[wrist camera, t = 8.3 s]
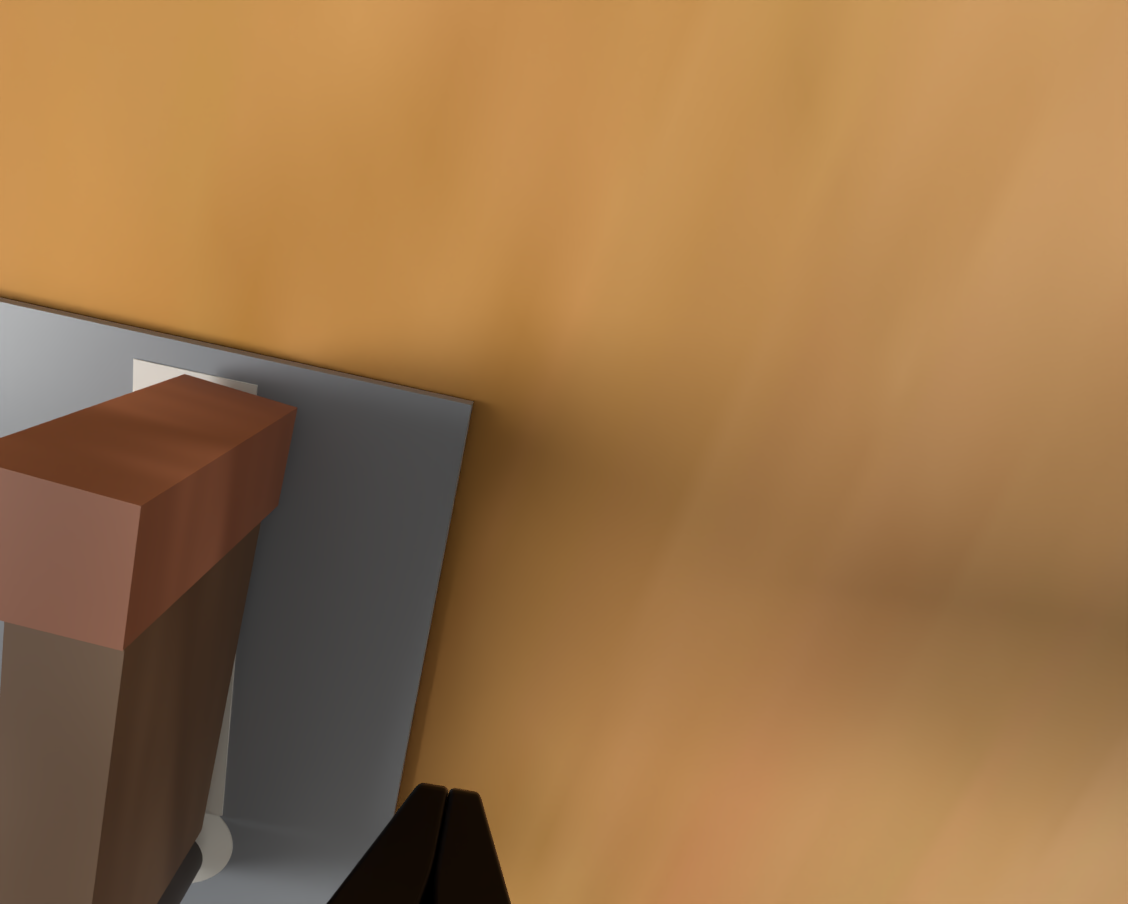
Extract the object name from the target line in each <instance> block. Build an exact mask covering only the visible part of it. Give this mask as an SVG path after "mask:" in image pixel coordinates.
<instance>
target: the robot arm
mask: <svg viewBox="0 0 1128 904" xmlns="http://www.w3.org/2000/svg"><path fill="white" fill-rule="evenodd" d="M327 904H511V902H510V898H509V895H508V891H507V888H506V884H505V881H504V877H503V874H502V870H501V867H500V863H499V860H498V856H497V853H496V849H495V845H494V842H493V838H492V835H491V831H490V828H489V824H488V821H487V817H486V814H485V810H484V807H483V803H482V800H481V797H480V795H479V794H478V793H477V792H474V791H469V790H463V789H457V788H453V789H451V790H450V791H449V793H448V789H447V788H446V787H444V786H439V785H433V784H427V783H421V784H419V785H418V786H416V788H415V789H414V790H413V791H412V793H411V794H410V795H409V797H408V798H407V799H406V800H405V802H404V803H403V804H402V806H401V807H400V808H399V810H398V811H397V812H396V814H395V815H394V816H393V817H392V819H391V820H390V821H389V823H388V824H387V825H386V827H385V828H384V829H383V831H382V832H381V833H380V834H379V836H378V837H377V838H376V840H375V841H374V842H373V844H372V845H371V846H370V847H369V849H368V850H367V851H366V853H365V854H364V855H363V857H362V858H361V859H360V861H359V862H358V863H357V864H356V866H355V867H354V868H353V870H352V871H351V872H350V874H349V875H348V876H347V877H346V879H345V880H344V881H343V883H342V884H341V885H340V887H339V888H338V889H337V891H336V892H335V893H334V894H333V896H332V897H331V898H330V900H329V901H328V902H327Z"/></svg>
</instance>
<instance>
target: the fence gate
mask: <svg viewBox="0 0 1128 904" xmlns="http://www.w3.org/2000/svg"><path fill="white" fill-rule="evenodd" d="M296 413H297V407H294V406H291V405H287V404H284V403H280V402H277V401H274V400H270V399H267V398H264V397H260V396H257V395H254V394H250V393H247V392H244V391H240V390H237V389H234V388H230V387H227V386H224V385H220V384H217V383H213V382H210V381H207V380H203V379H200V378H197V377H193V376H190V375H187V374H183V375H180V376H177V377H174V378H172V379H169V380H166V381H163V382H160V383H157V384H154V385H151V386H148V387H146V388H143V389H140V390H137V391H134V392H131V393H128V394H125V395H123V396H120V397H117V398H114V399H111V400H108V401H105V402H102V403H99V404H97V405H94V406H91V407H88V408H85V409H82V410H79V411H76V412H74V413H71V414H68V415H65V416H62V417H59V418H56V419H53V420H51V421H48V422H45V423H42V424H39V425H36V426H33V427H30V428H27V429H25V430H22V431H19V432H16V433H13V434H10V435H7V436H4V437H2V438H0V621H4V634H3V651H2V668H1V685H0V904H157V903H158V901H159V900H160V898H161V896H162V895H163V893H164V891H165V890H166V888H167V887H168V885H169V883H170V882H171V880H172V878H173V877H174V875H175V873H176V872H177V870H178V868H179V867H180V865H181V863H182V862H183V860H184V858H185V857H186V855H187V854H188V852H189V850H190V849H191V847H192V845H193V844H194V842H195V840H196V839H197V837H198V835H199V834H200V832H201V830H202V826H203V821H204V816H205V811H206V805H207V800H208V795H209V790H210V785H211V779H212V774H213V769H214V764H215V759H216V753H217V748H218V743H219V738H220V733H221V727H222V722H223V717H224V712H225V706H226V701H227V696H228V691H229V686H230V680H231V675H232V670H233V665H234V660H235V654H236V649H237V644H238V639H239V634H240V628H241V623H242V618H243V613H244V608H245V602H246V597H247V592H248V587H249V582H250V576H251V571H252V566H253V561H254V556H255V550H256V545H257V540H258V535H259V530H260V524H261V521H262V520H263V519H264V518H265V517H266V516H267V515H268V514H270V513H271V512H272V511H273V510H274V509H275V508H276V507H277V506H278V503H279V498H280V493H281V488H282V483H283V478H284V473H285V468H286V463H287V458H288V453H289V448H290V443H291V438H292V433H293V428H294V423H295V418H296Z"/></svg>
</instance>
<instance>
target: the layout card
mask: <svg viewBox="0 0 1128 904" xmlns="http://www.w3.org/2000/svg"><path fill="white" fill-rule="evenodd" d="M183 374H187V375H190V376H193V377H197V378H200V379H203V380H207V381H210V382H213V383H217V384H220V385H224V386H227V387H230V388H234V389H237V390H240V391H244V392H247V393H250V394H254V395H257V396H260V397H264V398H267V399H270V400H274V401H277V402H280V403H284V404H287V405H291V406H294V407H297V413H296V418H295V423H294V428H293V433H292V438H291V443H290V448H289V453H288V458H287V463H286V468H285V473H284V478H283V483H282V488H281V493H280V498H279V503H278V506H277V507H276V508H275V509H274V510H273V511H272V512H271V513H270V514H268V515H267V516H266V517H265V518H264V519H263V520H262V521H261V524H260V530H259V535H258V540H257V545H256V550H255V556H254V561H253V566H252V571H251V576H250V582H249V587H248V592H247V597H246V602H245V608H244V613H243V618H242V623H241V628H240V634H239V639H238V644H237V649H236V654H235V660H234V665H233V670H232V675H231V680H230V686H229V691H228V696H227V701H226V706H225V712H224V717H223V722H222V727H221V733H220V738H219V743H218V748H217V753H216V759H215V764H214V769H213V774H212V779H211V785H210V790H209V795H208V800H207V805H206V811H205V816H204V821H203V826H202V830H201V832H200V834H199V835H198V837H197V839H196V840H195V842H196V843H197V844H198V846H199V847H200V849H201V852H202V856H203V861H202V865H201V868H200V870H199V871H198V873H197V875H196V877H195V878H194V880H193V882H192V884H191V885H190V887H189V889H188V891H187V892H186V894H185V896H184V898H183V899H182V901H181V903H180V904H327V902H328V901H329V900H330V898H331V897H332V896H333V894H334V893H335V892H336V891H337V889H338V888H339V887H340V885H341V884H342V883H343V881H344V880H345V879H346V877H347V876H348V875H349V874H350V872H351V871H352V870H353V868H354V867H355V866H356V864H357V863H358V862H359V861H360V859H361V858H362V857H363V855H364V854H365V853H366V851H367V850H368V849H369V847H370V846H371V845H372V844H373V842H374V841H375V840H376V838H377V837H378V836H379V834H380V833H381V832H382V831H383V829H384V828H385V827H386V825H387V824H388V823H389V821H390V820H391V819H392V817H393V816H394V815H395V810H396V805H397V800H398V794H399V789H400V784H401V779H402V773H403V768H404V763H405V758H406V752H407V747H408V742H409V737H410V731H411V726H412V721H413V716H414V711H415V705H416V700H417V695H418V690H419V684H420V679H421V674H422V669H423V663H424V658H425V653H426V648H427V642H428V637H429V632H430V627H431V622H432V616H433V611H434V606H435V601H436V595H437V590H438V585H439V580H440V574H441V569H442V564H443V559H444V553H445V548H446V543H447V538H448V533H449V527H450V522H451V517H452V512H453V506H454V501H455V496H456V491H457V485H458V480H459V475H460V470H461V464H462V459H463V454H464V449H465V444H466V438H467V433H468V428H469V423H470V417H471V412H472V407H473V402H474V401H470V400H465V399H461V398H456V397H452V396H447V395H443V394H438V393H433V392H429V391H424V390H420V389H415V388H411V387H406V386H402V385H397V384H392V383H388V382H383V381H379V380H374V379H370V378H365V377H361V376H356V375H352V374H347V373H342V372H338V371H333V370H329V369H324V368H320V367H315V366H311V365H306V364H301V363H297V362H292V361H288V360H283V359H279V358H274V357H270V356H265V355H261V354H256V353H251V352H247V351H242V350H238V349H233V348H229V347H224V346H220V345H215V344H210V343H206V342H201V341H197V340H192V339H188V338H183V337H179V336H174V335H170V334H165V333H160V332H156V331H151V330H147V329H142V328H138V327H133V326H129V325H124V324H119V323H115V322H110V321H106V320H101V319H97V318H92V317H88V316H83V315H79V314H74V313H69V312H65V311H60V310H56V309H51V308H47V307H42V306H38V305H33V304H28V303H24V302H19V301H15V300H10V299H6V298H1V297H0V438H2V437H4V436H7V435H10V434H13V433H16V432H19V431H22V430H25V429H27V428H30V427H33V426H36V425H39V424H42V423H45V422H48V421H51V420H53V419H56V418H59V417H62V416H65V415H68V414H71V413H74V412H76V411H79V410H82V409H85V408H88V407H91V406H94V405H97V404H99V403H102V402H105V401H108V400H111V399H114V398H117V397H120V396H123V395H125V394H128V393H131V392H134V391H137V390H140V389H143V388H146V387H148V386H151V385H154V384H157V383H160V382H163V381H166V380H169V379H172V378H174V377H177V376H180V375H183ZM3 634H4V621H0V685H1V668H2V651H3Z"/></svg>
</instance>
